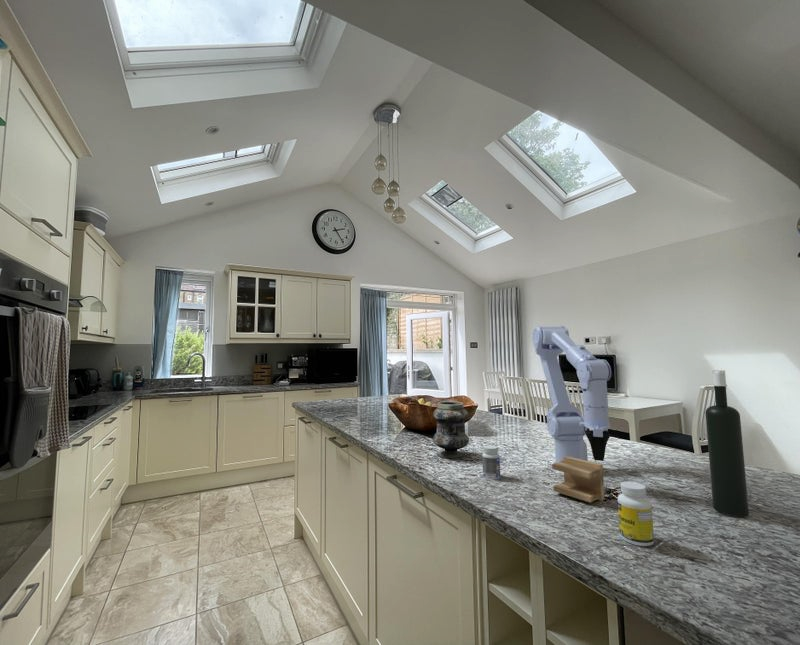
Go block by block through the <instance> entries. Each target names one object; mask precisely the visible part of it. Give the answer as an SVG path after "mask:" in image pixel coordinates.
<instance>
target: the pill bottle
mask: <svg viewBox="0 0 800 645" xmlns="http://www.w3.org/2000/svg"><path fill="white" fill-rule="evenodd" d="M482 449H483V453H482V456H481V457H482V477H483V478H484V479H486V480H492V481H493V480H496V481H497V480H499V479H501V461H500V459H501V457H500V454H499V447H498V446H496V445H494V444H493V445H492V444H490V445H484V446H483V448H482Z"/></svg>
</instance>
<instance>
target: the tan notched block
mask: <svg viewBox="0 0 800 645" xmlns="http://www.w3.org/2000/svg"><path fill="white" fill-rule="evenodd" d="M551 465H552V468H551V469H552V470H554V471H558V472H562V473H563V478H564V479H563V480H564V481H563V482H560V483H558V484H554V485H553V486H552V487H553V492H555V493H558V494H562V495H564V496H569V497H571V498H574V499H577V500H581V501H585V502H587V503H592V502H594V501H596V500H597V501H601V502H602V501H604V500H605V483H604V480H605V479H604V466H603V464H602V463H598V462H594V461H590V460H588V461H586V460H581V459H577V458H573V457H568V456H565V457H563V461H560V462H557V463H556V462H555V463H552V464H551Z"/></svg>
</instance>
